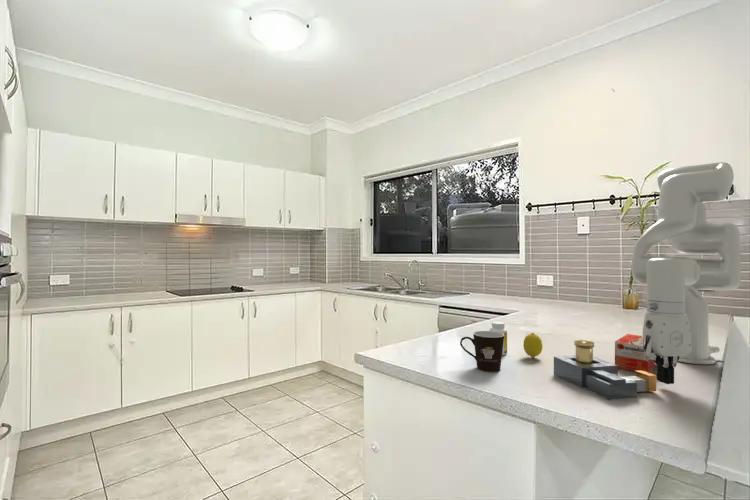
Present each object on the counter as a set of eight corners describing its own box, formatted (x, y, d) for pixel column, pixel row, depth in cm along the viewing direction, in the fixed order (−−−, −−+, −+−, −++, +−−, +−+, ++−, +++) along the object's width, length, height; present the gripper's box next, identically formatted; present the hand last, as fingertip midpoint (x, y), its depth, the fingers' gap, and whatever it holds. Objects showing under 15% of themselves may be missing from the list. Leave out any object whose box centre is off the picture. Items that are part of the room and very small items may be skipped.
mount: (586, 372, 107) (586, 354, 107) (644, 396, 89) (644, 375, 89) (553, 374, 105) (553, 356, 105) (606, 400, 87) (606, 378, 87)
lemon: (544, 361, 118) (544, 335, 118) (525, 360, 119) (525, 334, 119) (540, 356, 123) (540, 331, 123) (522, 355, 124) (522, 330, 124)
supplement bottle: (502, 351, 129) (502, 320, 129) (510, 355, 124) (510, 324, 124) (486, 351, 128) (486, 321, 128) (494, 356, 123) (494, 324, 123)
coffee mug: (509, 368, 110) (509, 333, 110) (495, 375, 104) (495, 338, 104) (472, 360, 118) (472, 328, 118) (458, 366, 112) (458, 332, 112)
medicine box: (648, 375, 105) (648, 346, 105) (614, 368, 110) (614, 341, 110) (658, 364, 115) (658, 337, 115) (627, 358, 121) (627, 333, 121)
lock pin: (641, 385, 95) (641, 370, 95) (656, 391, 91) (656, 375, 91) (614, 387, 94) (614, 372, 94) (628, 393, 90) (628, 377, 90)
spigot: (585, 376, 103) (585, 339, 103) (598, 382, 99) (598, 343, 99) (570, 377, 102) (570, 340, 102) (583, 383, 98) (582, 344, 98)
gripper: (654, 311, 89) (654, 389, 89) (705, 309, 92) (705, 385, 92) (626, 306, 96) (626, 379, 96) (675, 304, 99) (675, 375, 99)
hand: (665, 382), depth 94 cm, fingers closed
